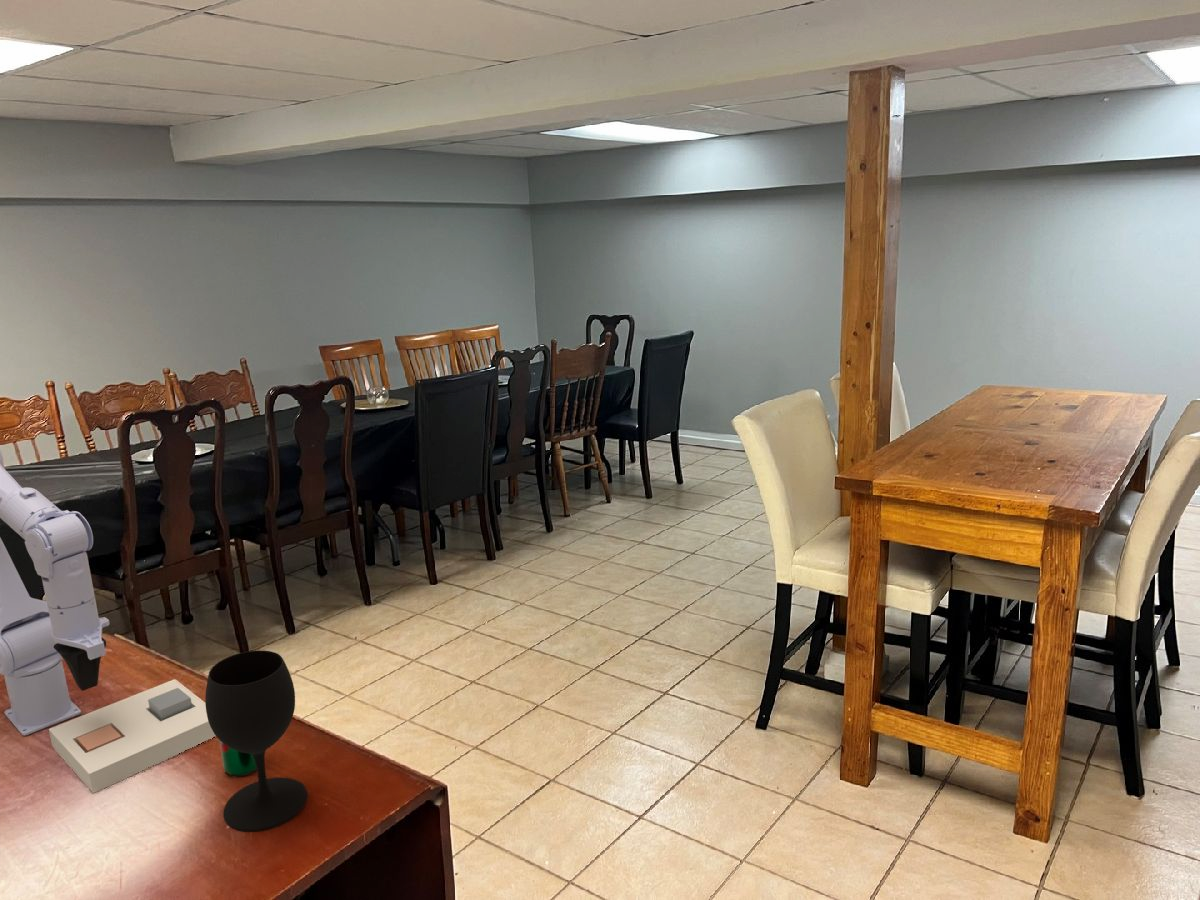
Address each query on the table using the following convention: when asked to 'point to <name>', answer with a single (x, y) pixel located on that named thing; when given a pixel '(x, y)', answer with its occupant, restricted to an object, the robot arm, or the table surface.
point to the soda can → (237, 761)
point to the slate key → (169, 704)
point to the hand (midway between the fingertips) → (88, 686)
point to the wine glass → (255, 733)
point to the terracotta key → (98, 738)
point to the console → (131, 737)
